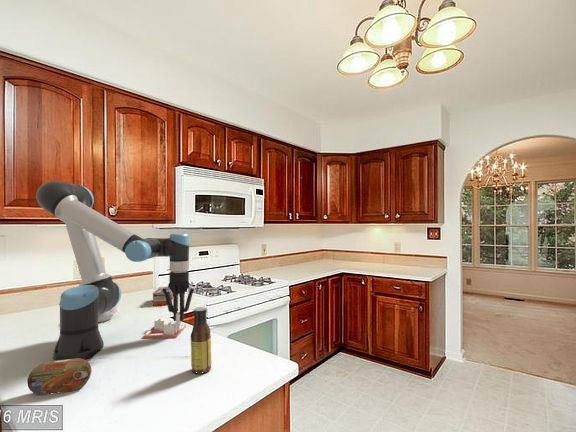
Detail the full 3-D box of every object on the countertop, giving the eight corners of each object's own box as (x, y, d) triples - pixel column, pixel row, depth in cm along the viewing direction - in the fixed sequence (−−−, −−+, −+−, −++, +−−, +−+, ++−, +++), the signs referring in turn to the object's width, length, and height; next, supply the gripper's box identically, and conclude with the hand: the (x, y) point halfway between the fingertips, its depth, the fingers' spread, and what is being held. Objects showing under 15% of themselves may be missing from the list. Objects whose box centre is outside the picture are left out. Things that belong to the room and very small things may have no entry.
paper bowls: (76, 326, 142) (76, 309, 143) (86, 316, 157) (86, 300, 157) (114, 323, 147) (114, 306, 147) (120, 313, 162) (120, 298, 162)
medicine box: (159, 299, 191) (159, 286, 191) (173, 299, 192) (173, 286, 192) (152, 306, 176) (152, 292, 176) (167, 305, 177) (167, 291, 177)
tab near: (173, 336, 126) (173, 323, 127) (163, 336, 126) (163, 324, 126) (176, 333, 130) (176, 320, 130) (167, 333, 130) (167, 320, 130)
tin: (26, 397, 86) (26, 366, 86) (32, 391, 89) (32, 361, 89) (89, 389, 90) (89, 359, 90) (92, 384, 93) (92, 355, 93)
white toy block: (163, 331, 132) (163, 319, 132) (154, 331, 132) (154, 319, 132) (167, 328, 136) (167, 316, 136) (157, 328, 136) (157, 316, 136)
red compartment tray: (176, 341, 125) (176, 335, 125) (143, 341, 124) (143, 335, 124) (185, 329, 138) (185, 324, 138) (155, 330, 137) (155, 324, 137)
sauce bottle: (203, 364, 105) (203, 304, 105) (215, 369, 101) (215, 307, 101) (186, 371, 100) (186, 308, 100) (198, 377, 96) (198, 312, 96)
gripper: (197, 269, 133) (197, 325, 133) (166, 269, 132) (165, 325, 132) (192, 272, 125) (192, 332, 125) (159, 272, 125) (159, 332, 125)
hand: (178, 328), depth 129 cm, fingers closed
